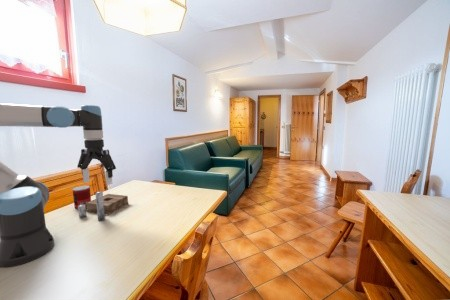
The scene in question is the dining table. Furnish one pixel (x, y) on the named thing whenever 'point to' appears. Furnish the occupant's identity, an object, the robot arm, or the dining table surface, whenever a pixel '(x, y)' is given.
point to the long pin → (100, 206)
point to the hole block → (109, 203)
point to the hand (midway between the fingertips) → (97, 183)
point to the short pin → (82, 211)
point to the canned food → (81, 195)
